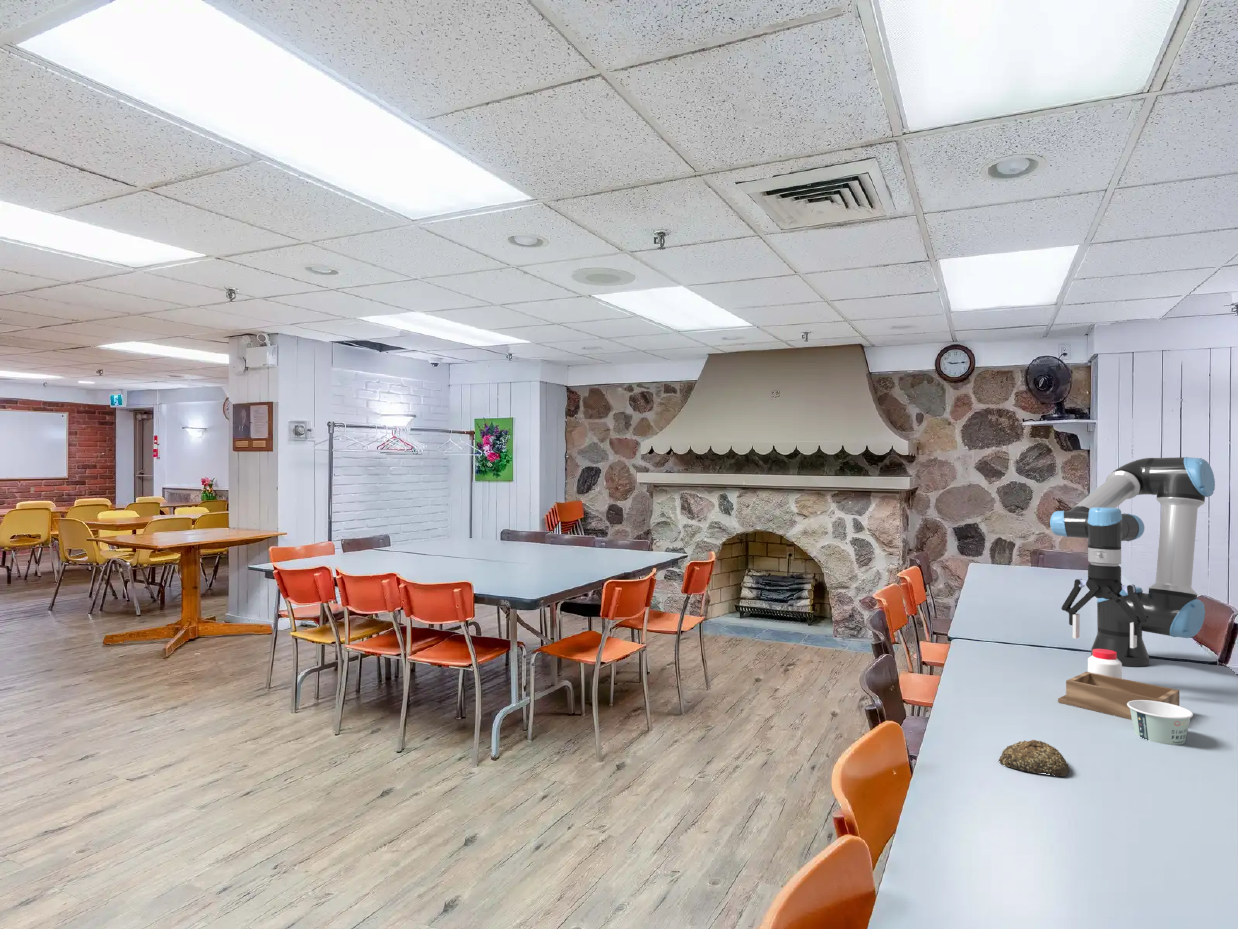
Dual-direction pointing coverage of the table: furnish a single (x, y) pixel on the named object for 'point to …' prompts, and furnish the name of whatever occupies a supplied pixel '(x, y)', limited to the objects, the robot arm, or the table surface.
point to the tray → (1112, 693)
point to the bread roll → (1035, 758)
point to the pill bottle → (1105, 663)
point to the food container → (1160, 721)
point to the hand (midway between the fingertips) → (1103, 642)
